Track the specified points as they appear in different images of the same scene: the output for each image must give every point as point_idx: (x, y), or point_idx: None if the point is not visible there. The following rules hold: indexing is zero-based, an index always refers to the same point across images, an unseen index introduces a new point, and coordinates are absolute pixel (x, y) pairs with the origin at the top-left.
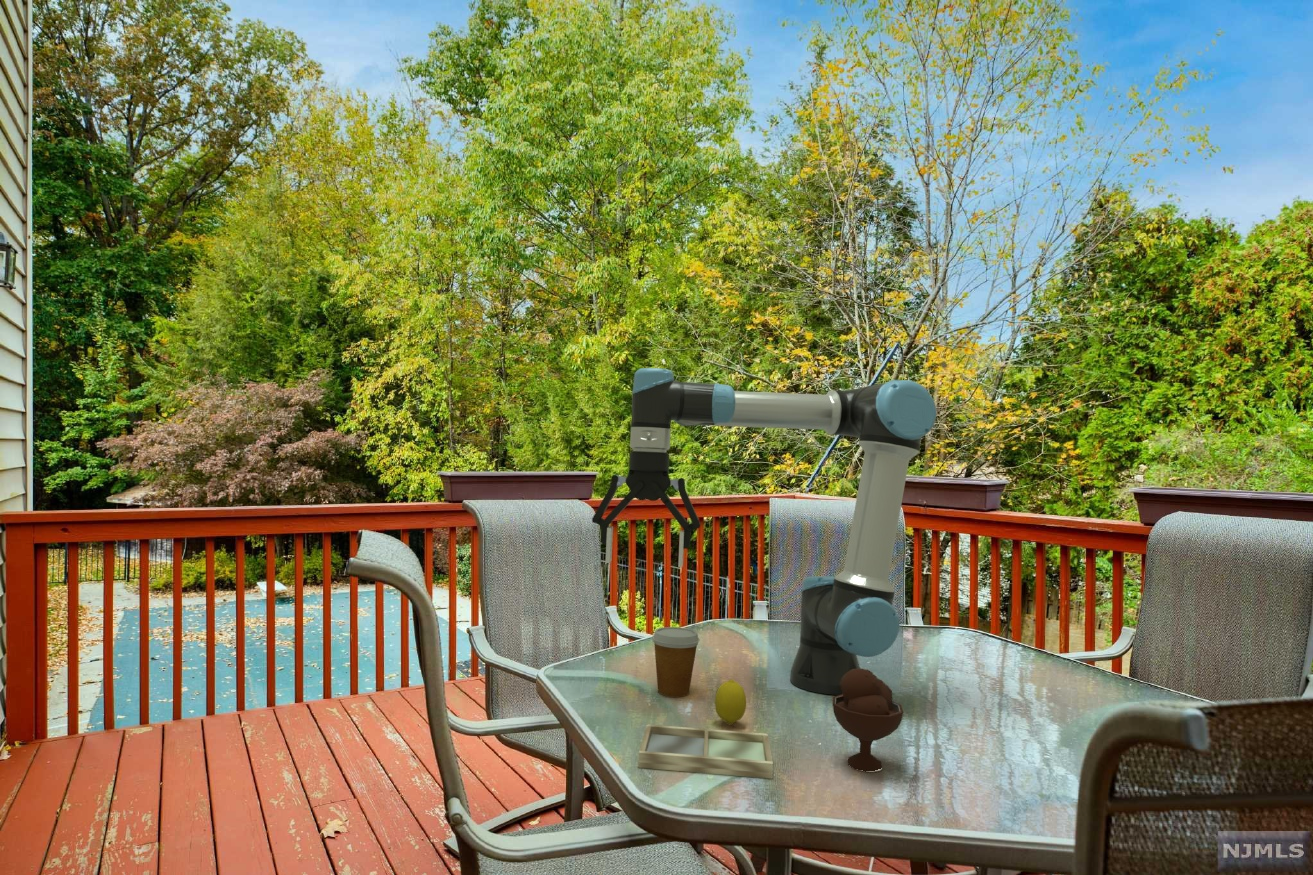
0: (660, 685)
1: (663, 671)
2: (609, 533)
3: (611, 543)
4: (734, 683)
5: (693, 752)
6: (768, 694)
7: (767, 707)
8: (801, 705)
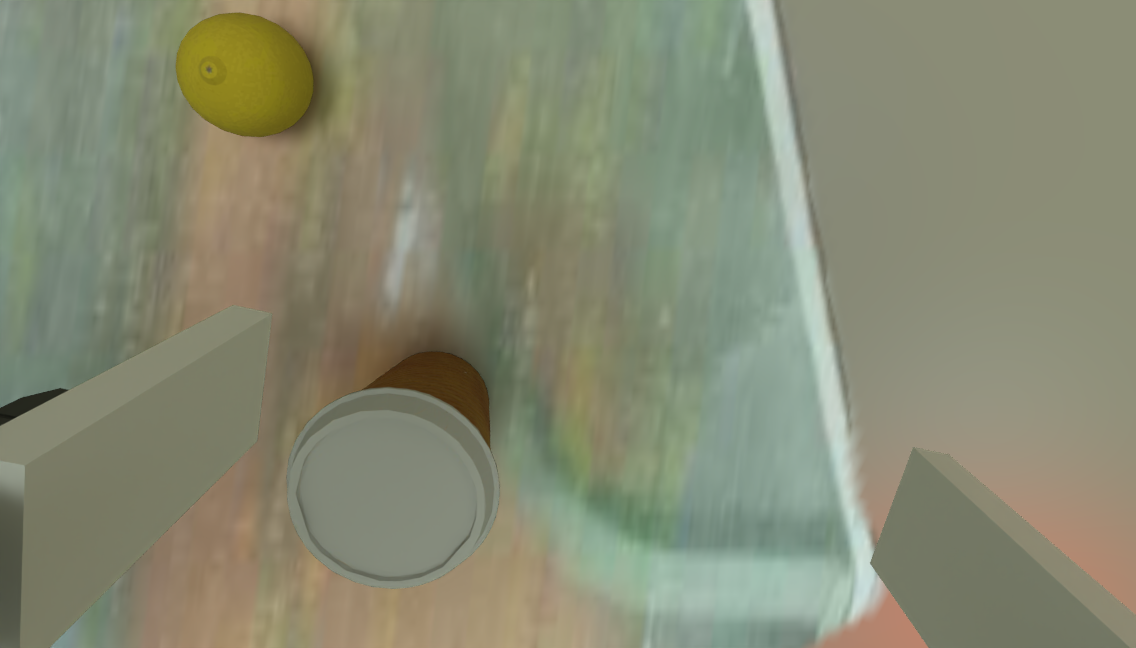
0: (481, 386)
1: (467, 387)
2: (1128, 631)
3: (981, 622)
4: (202, 54)
5: None
6: None
7: (127, 254)
8: (4, 275)
